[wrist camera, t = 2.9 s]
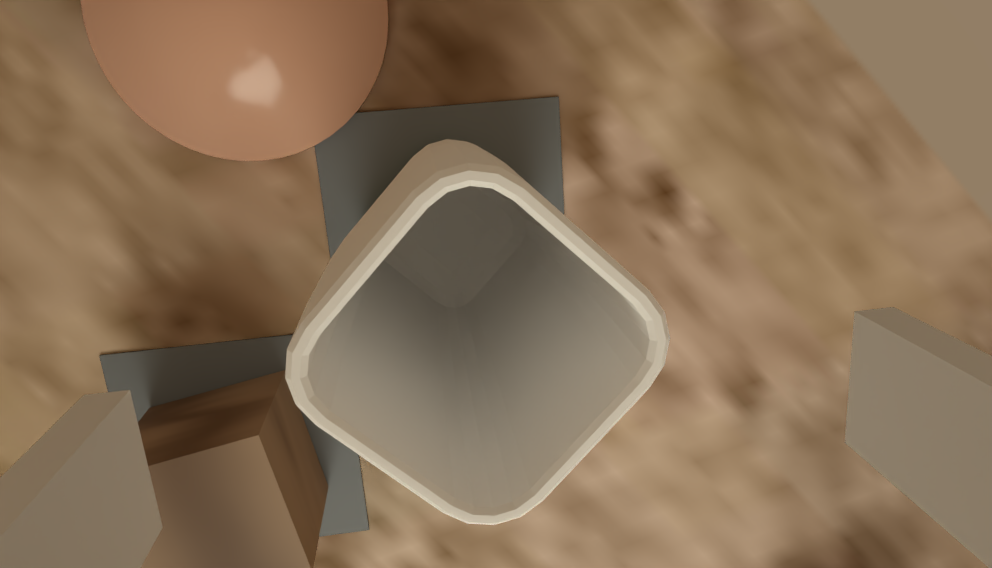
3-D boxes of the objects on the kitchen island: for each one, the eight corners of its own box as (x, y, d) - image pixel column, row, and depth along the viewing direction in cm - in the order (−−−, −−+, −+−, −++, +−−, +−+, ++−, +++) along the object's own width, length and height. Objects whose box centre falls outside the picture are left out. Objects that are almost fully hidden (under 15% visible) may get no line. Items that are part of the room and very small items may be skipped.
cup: (437, 102, 29) (465, 128, 15) (568, 218, 31) (702, 336, 17) (324, 239, 30) (250, 383, 16) (457, 342, 32) (497, 553, 18)
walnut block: (200, 523, 33) (156, 617, 27) (149, 407, 31) (91, 482, 26) (328, 486, 33) (312, 571, 28) (285, 369, 32) (258, 434, 26)
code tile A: (344, 348, 32) (343, 351, 32) (311, 116, 29) (310, 116, 29) (567, 323, 33) (569, 327, 33) (556, 96, 30) (558, 96, 30)
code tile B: (151, 553, 34) (148, 559, 33) (103, 352, 31) (98, 356, 30) (369, 524, 35) (368, 530, 34) (341, 326, 32) (340, 330, 31)
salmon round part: (122, 171, 29) (116, 172, 28) (54, -143, 26) (46, -148, 25) (403, 147, 30) (403, 148, 29) (370, -158, 27) (369, -163, 26)
